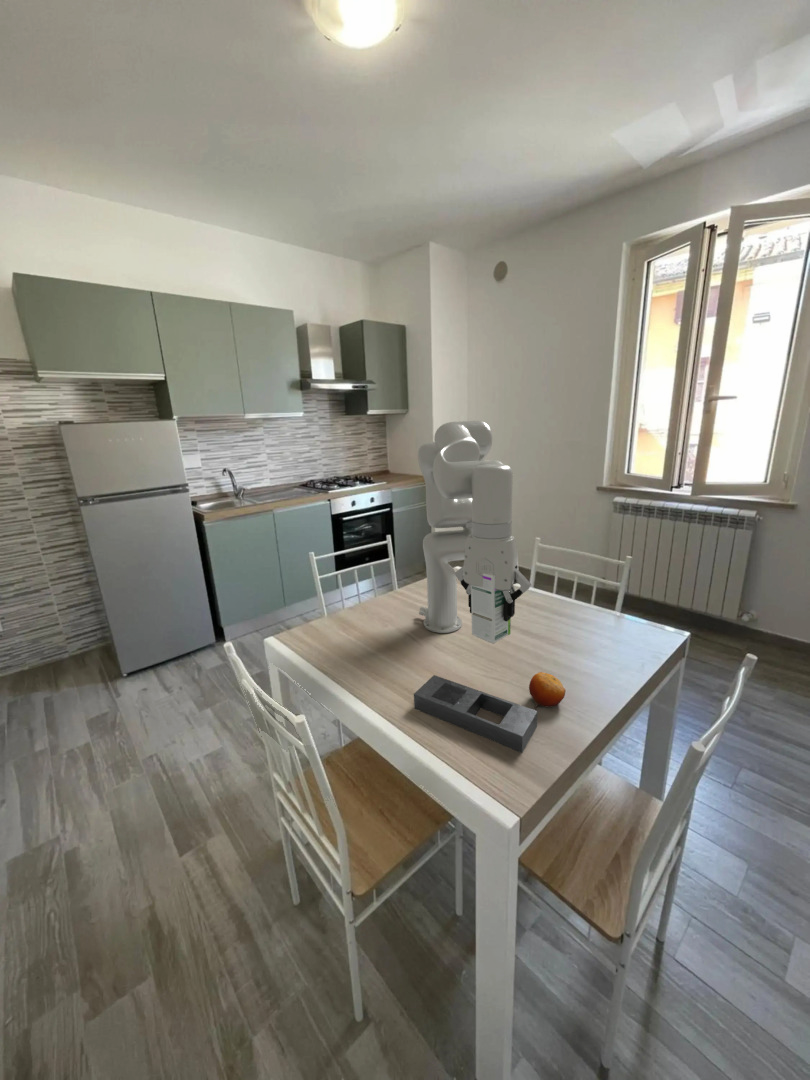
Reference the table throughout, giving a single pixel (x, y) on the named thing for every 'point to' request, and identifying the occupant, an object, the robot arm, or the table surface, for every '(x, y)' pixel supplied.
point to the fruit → (546, 690)
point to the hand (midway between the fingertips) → (491, 614)
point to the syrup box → (488, 611)
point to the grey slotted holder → (464, 705)
